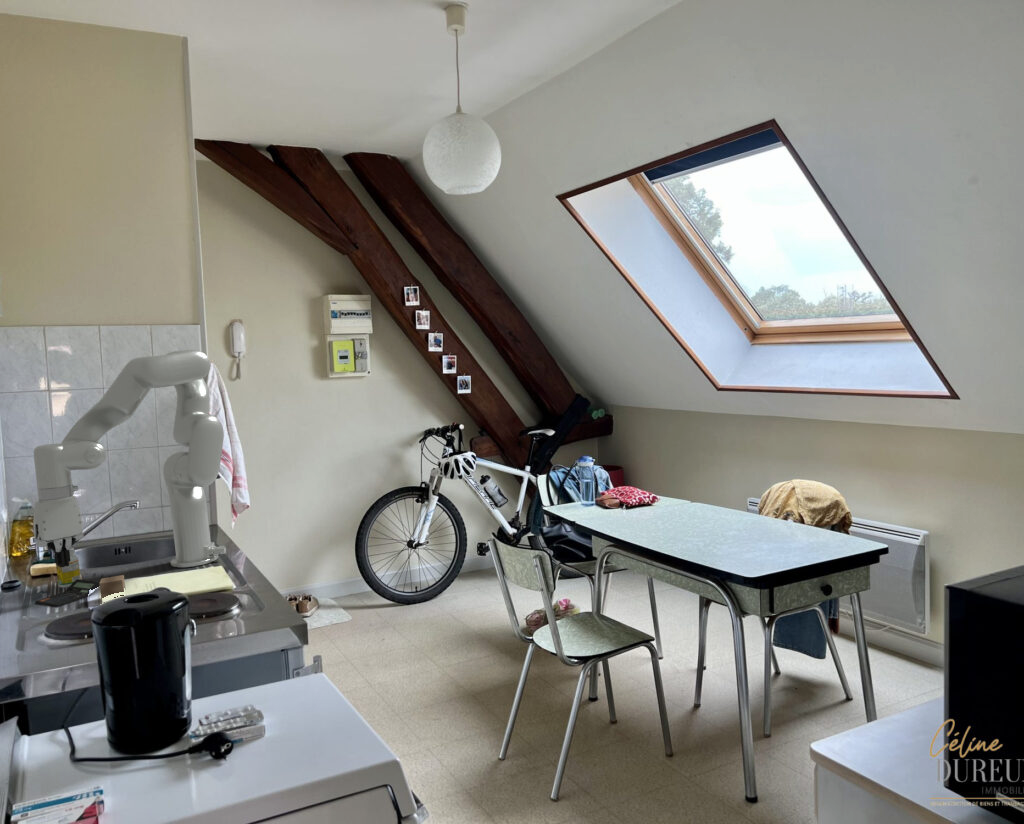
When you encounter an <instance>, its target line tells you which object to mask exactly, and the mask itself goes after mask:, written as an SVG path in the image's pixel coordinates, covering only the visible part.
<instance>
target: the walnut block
mask: <svg viewBox="0 0 1024 824" xmlns="http://www.w3.org/2000/svg"><path fill="white" fill-rule="evenodd" d="M99 582H100V583H99V585H100V587H99V592H100V599H102V598H104V597H106V596H108V595H111V594H114V593H119V592H124V588H125V589H126V581H125V575H124V574H122V575H115V576H114V575H113V576H110V577H109V576H108V577H102V578H101V579H100V581H99ZM120 596H124V595H120ZM117 597H118V596H117ZM114 598H116V597H114Z"/></svg>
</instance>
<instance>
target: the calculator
mask: <svg viewBox="0 0 1024 824" xmlns="http://www.w3.org/2000/svg"><path fill="white" fill-rule="evenodd" d="M99 583H100V581H93V580H85V579H81V580H78V579H77V580H76V581H74V582H73V583H72V584H71V585H70V586H69V587H66V588H65V590H64V591H63V592H59V593H57V594H53V595H51V596H50V595H49V596H47V597H44V598H42V599H39V600H35V601H34V603H35V605H42V606H47V607H55V608H59V607H62V606H65V605H66V606H67V605H69V604H72V603H75V602H77V601H81V600H83V599H86V598H89V597H88V594H89V590H90V589H91V590H93V589H95V588H97V587H99V586H100V585H99ZM99 588H100V587H99Z"/></svg>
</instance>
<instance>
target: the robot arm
mask: <svg viewBox="0 0 1024 824" xmlns="http://www.w3.org/2000/svg"><path fill="white" fill-rule="evenodd" d="M210 370H211V360H210V358H209V357H208V355H207V354H206V353H205V352H203V351H201V350H198V349H187V350H175V351H170V352H168V353H166V354H163V355H162V354H161V355H154V356H152V355H150V356H141V357H135V358H132V359H131V360H129V361H128V362H127V363H126V365H125V366H124V367H123V369H122V370H121V371H120V372H119V374H118V375H117V377H116V378H115V379H114V381H113V382H112V384H111V385H110V387H108V389H107V391H105V393H104V394H103V395H102V397H101V398H100V400H99V401H98V402H96V404H95V405H93V406H92V407H91V408H90V409H89V410H88V411H87V412H86V413H85V414H83V415H82V416H81V417H80V418H79V419H78V420H76V423H74V424H73V426H72V427H71V429H70V430H69V432H67V434H66V436H65V437H63V440H62V441H61V442H60V443H49V444H41V445H37V446H36V447H35V448H34V450H33V460H34V468H35V469H34V470H35V481H36V488H37V489H36V490H37V497H38V498H37V499H38V500H37V501H34V504H33V505H34V506H33V536H34V540H36V547H38V548H47V549H50V550H51V551H52V552H53V556H54V563H55V565H56V564H57V566H59V567H65V566H69V562H70V552H69V550H70V549H71V548H72V546H73V545H74V543H75V542H77V541H79V540H81V539H84V537H85V535H84V523H83V517H82V512H81V509H80V505H79V501H78V499H77V497H76V496H75V495H74V494H75V492H77V491H79V486H78V485H74V484H73V483H72V472H71V471H77V470H80V471H83V470H84V471H86V470H94V469H96V468H98V467H100V466H101V465H103V463H104V462H105V460H106V457H107V451H106V449H105V447H104V445H102V444H101V443H100V442H99V440H100V439H101V438H102V437H103V436H104V435H106V433H108V432H109V431H110V430H112V429H113V428H116V427H117V426H120V425H121V424H123V423H125V422H126V421H128V420H129V419H130V418H131V417H132V416H133V415H135V414H134V413H135V412H136V411H137V409H138V407H140V405H141V403H142V402H143V400H144V399H145V398H146V396H147V395H148V393H149V392H150V390H151V389H161V388H166V387H174V388H175V391H176V397H177V398H176V409H175V416H174V421H173V428H172V429H173V431H172V435H173V437H172V438H173V439H174V441H175V443H177V444H178V445H179V446H182V447H187V448H188V451H178V452H175V453H172V454H171V455H169V456H168V457H167V458H166V460H165V462H164V464H163V467H162V472H163V473H162V474H163V478H164V482H165V485H166V488H167V492H168V493H167V494H168V497H169V505H170V516H171V522H172V531H173V532H172V533H173V541H174V542H173V543H174V548H175V557H174V558H172V559H171V560H170V566H172V567H174V568H190V567H198V566H202V565H207V564H210V563H213V562H215V561H217V559H219V555H224V554H227V548H226V546H224V545H220V546H217V545H215V541H211V531H210V524H209V522H210V521H209V514H208V503H207V502H208V501H207V497H206V493H205V490H204V488H206V487H208V486H210V485H212V484H213V483H215V481H216V479H217V478H218V475H219V472H220V467H221V461H222V455H223V446H224V439H225V435H224V434H225V432H224V428H223V425H222V423H221V421H220V419H219V418H217V417H216V416H215V415H212V414H209V411H210V410H209V408H210V406H209V405H210V392H209V388H208V385H207V383H206V381H205V379H204V378H206V377H207V375H208V374H209V372H210ZM59 540H61V543H60V541H59Z"/></svg>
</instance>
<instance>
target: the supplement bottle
mask: <svg viewBox="0 0 1024 824" xmlns="http://www.w3.org/2000/svg"><path fill="white" fill-rule="evenodd" d="M69 552H70V562H69V566H65V567H59V566H57V564H56V563H55V569H56V576H57V583H58V587H59V588H65V589H66V588H68V587H69V586H70V585H71V584H72V583H73V582H74V581H76V580H77V579H78V580H82V576H81V568H80V561H79V560H80V559H79V556H77V555H76V554H75V553H76V551H75V548H74V547H71V549H70V550H69Z"/></svg>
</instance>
